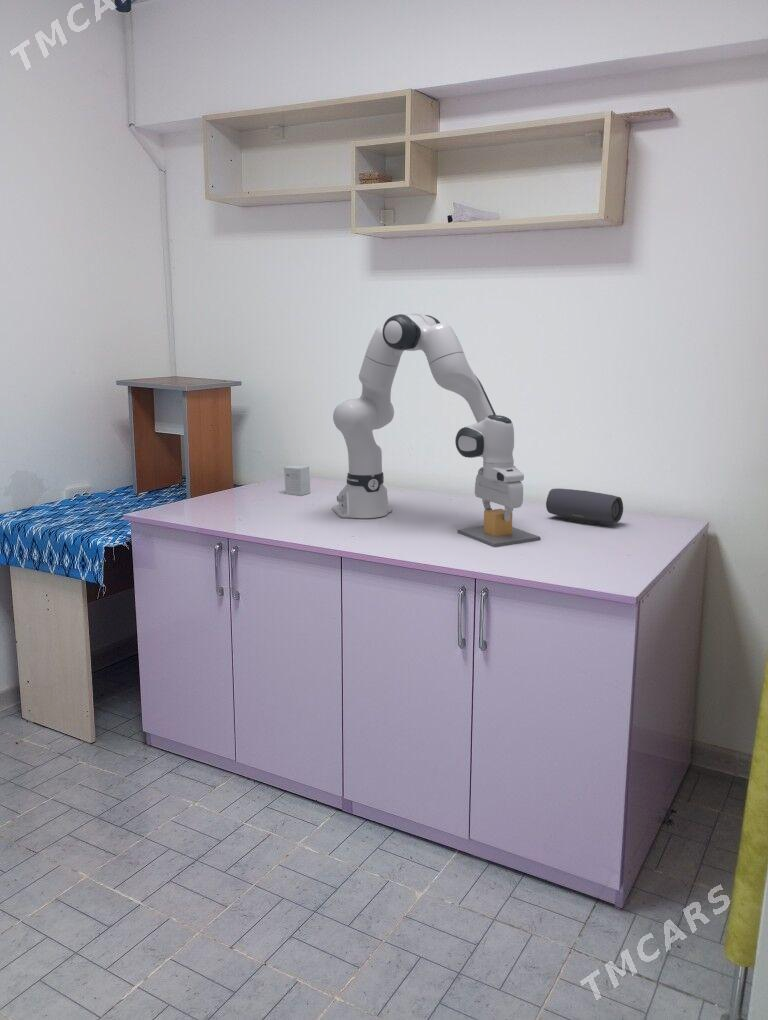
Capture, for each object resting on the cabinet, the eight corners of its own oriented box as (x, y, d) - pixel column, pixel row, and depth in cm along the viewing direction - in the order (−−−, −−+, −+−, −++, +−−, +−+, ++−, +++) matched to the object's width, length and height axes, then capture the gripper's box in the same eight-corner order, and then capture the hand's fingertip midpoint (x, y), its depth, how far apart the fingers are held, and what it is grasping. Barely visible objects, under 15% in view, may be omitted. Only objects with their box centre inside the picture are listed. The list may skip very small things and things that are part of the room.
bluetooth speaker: (623, 524, 260) (625, 492, 258) (609, 529, 253) (611, 497, 251) (559, 514, 275) (560, 484, 273) (544, 519, 268) (545, 489, 266)
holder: (457, 532, 253) (457, 518, 252) (501, 526, 260) (501, 512, 259) (494, 547, 235) (494, 531, 234) (540, 540, 242) (540, 525, 241)
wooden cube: (483, 532, 249) (483, 510, 247) (500, 529, 251) (500, 508, 250) (495, 536, 243) (495, 514, 242) (512, 533, 246) (512, 512, 245)
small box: (310, 493, 317) (309, 466, 315) (301, 496, 312) (300, 468, 310) (294, 491, 321) (293, 464, 319) (285, 494, 316) (283, 466, 314)
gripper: (469, 466, 251) (469, 511, 254) (509, 477, 233) (508, 525, 236) (487, 465, 254) (486, 509, 257) (527, 475, 236) (526, 523, 239)
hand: (497, 517), depth 246 cm, fingers open, 8 cm apart
